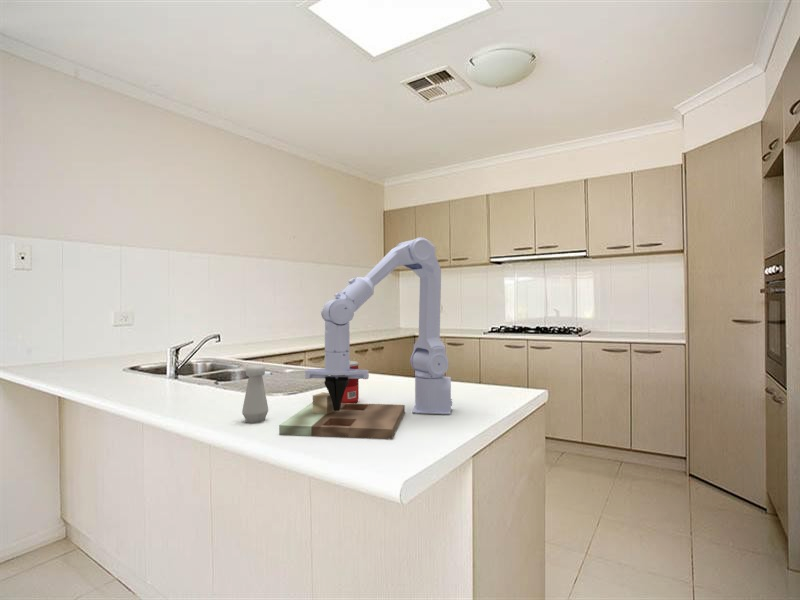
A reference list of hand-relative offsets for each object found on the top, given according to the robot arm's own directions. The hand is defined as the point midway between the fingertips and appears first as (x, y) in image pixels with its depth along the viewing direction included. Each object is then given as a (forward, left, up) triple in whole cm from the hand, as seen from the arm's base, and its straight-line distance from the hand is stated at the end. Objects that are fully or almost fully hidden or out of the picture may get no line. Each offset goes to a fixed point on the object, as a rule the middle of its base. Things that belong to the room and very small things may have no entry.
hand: (337, 409), depth 104 cm
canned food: (+3, -21, -3) cm, 22 cm away
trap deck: (-3, 0, -3) cm, 4 cm away
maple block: (+3, -2, -1) cm, 4 cm away
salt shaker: (+19, +1, -3) cm, 20 cm away
